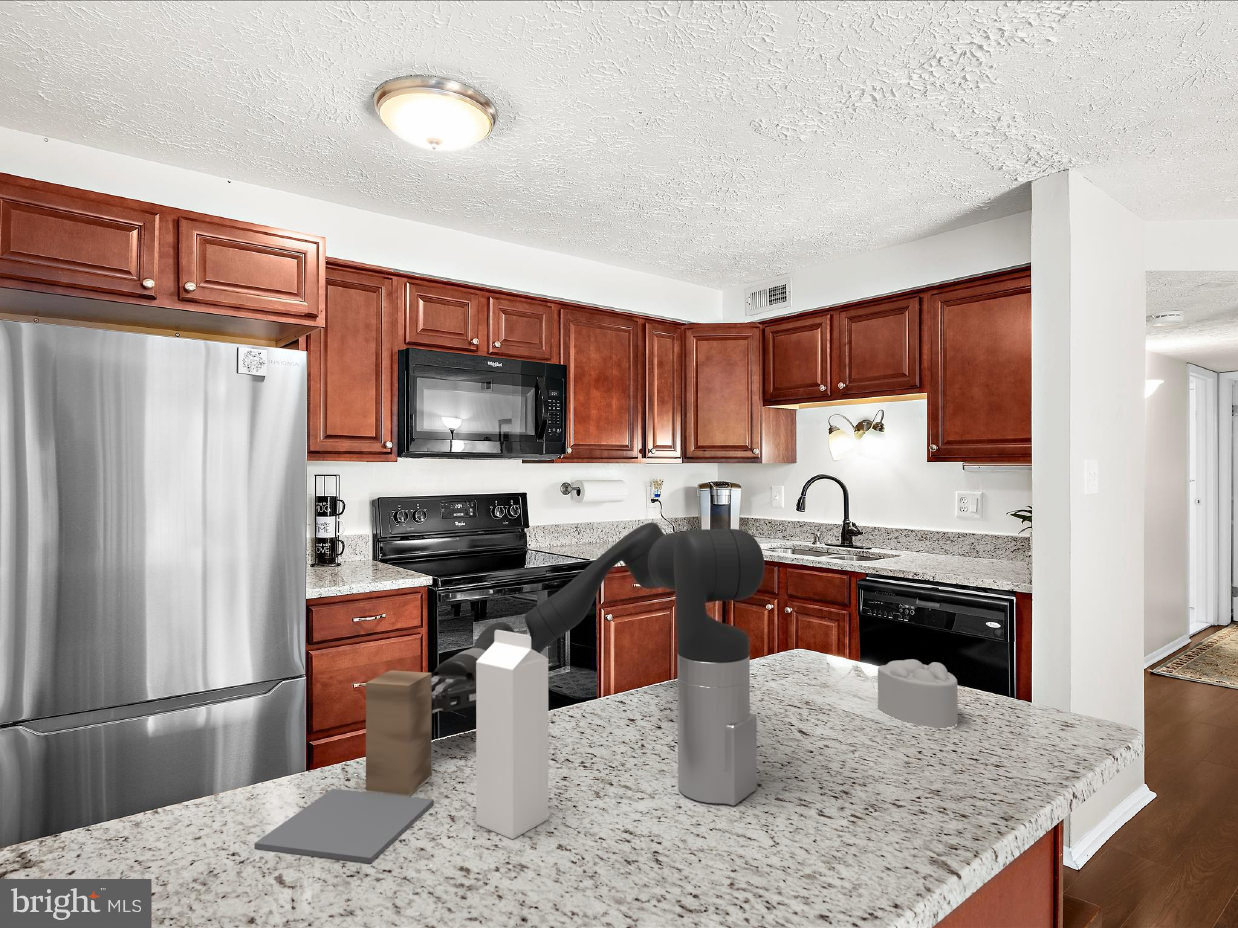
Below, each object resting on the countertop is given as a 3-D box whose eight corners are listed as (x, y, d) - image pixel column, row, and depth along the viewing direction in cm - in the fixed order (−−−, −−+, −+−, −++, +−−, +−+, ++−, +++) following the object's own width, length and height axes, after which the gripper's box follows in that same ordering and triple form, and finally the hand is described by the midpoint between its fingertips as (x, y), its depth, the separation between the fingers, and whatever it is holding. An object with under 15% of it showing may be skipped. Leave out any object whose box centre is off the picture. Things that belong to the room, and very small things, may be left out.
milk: (512, 806, 89) (512, 624, 90) (549, 820, 86) (549, 630, 86) (474, 825, 84) (475, 633, 85) (512, 840, 81) (512, 640, 81)
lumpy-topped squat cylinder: (920, 702, 129) (919, 653, 129) (975, 726, 117) (975, 672, 117) (869, 707, 126) (869, 657, 126) (921, 733, 114) (920, 677, 114)
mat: (332, 793, 93) (332, 788, 93) (433, 803, 90) (433, 799, 90) (254, 848, 79) (254, 842, 79) (370, 863, 76) (370, 857, 76)
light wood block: (390, 774, 99) (390, 670, 99) (431, 778, 97) (431, 672, 98) (365, 793, 93) (365, 682, 93) (408, 797, 92) (408, 685, 92)
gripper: (505, 702, 114) (457, 743, 97) (427, 698, 117) (368, 737, 100) (504, 654, 114) (456, 687, 97) (426, 651, 117) (367, 682, 100)
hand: (411, 712), depth 99 cm, fingers closed
